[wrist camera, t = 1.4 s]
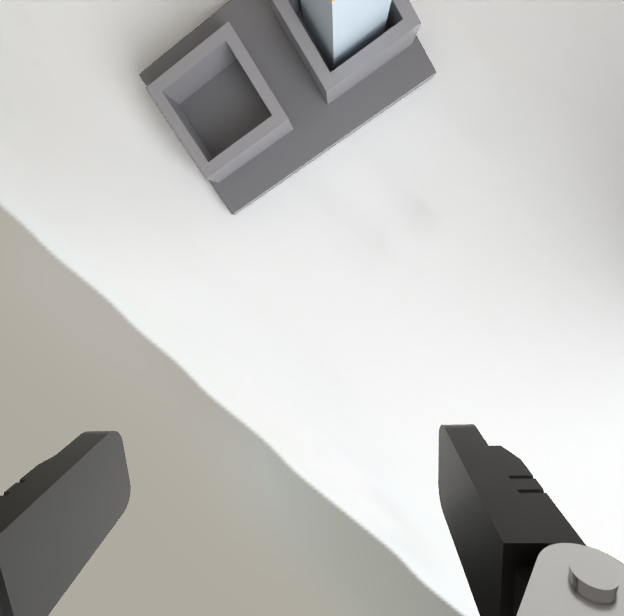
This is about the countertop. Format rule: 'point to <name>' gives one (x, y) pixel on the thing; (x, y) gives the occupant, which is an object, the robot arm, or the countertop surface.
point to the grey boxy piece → (276, 91)
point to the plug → (344, 25)
